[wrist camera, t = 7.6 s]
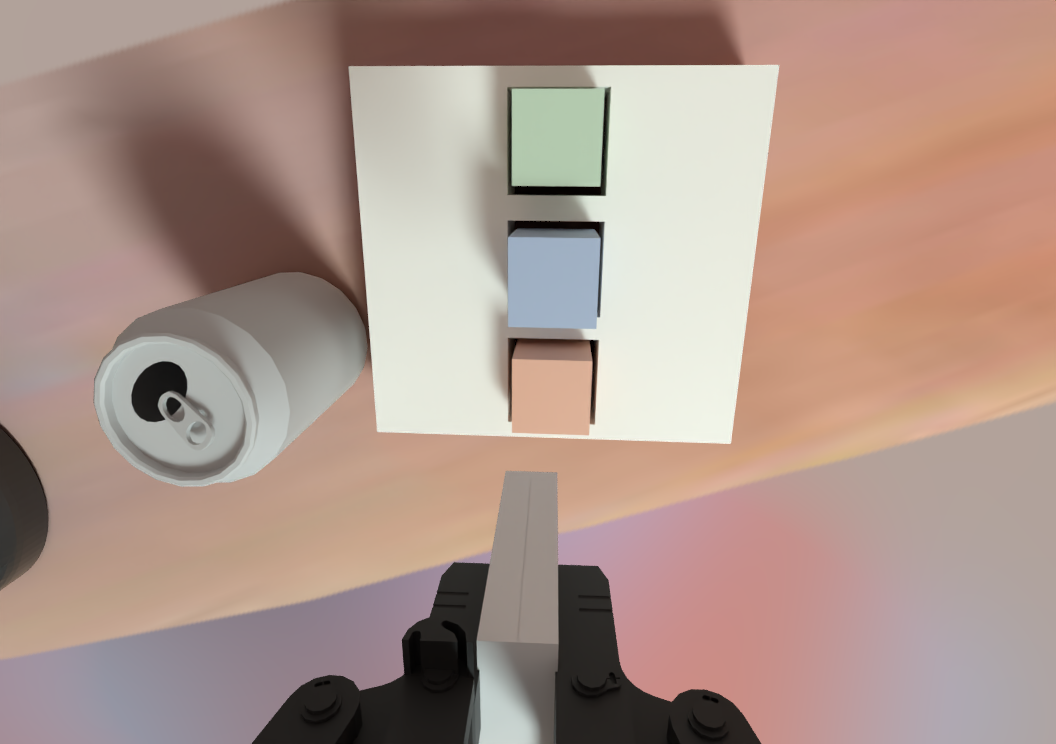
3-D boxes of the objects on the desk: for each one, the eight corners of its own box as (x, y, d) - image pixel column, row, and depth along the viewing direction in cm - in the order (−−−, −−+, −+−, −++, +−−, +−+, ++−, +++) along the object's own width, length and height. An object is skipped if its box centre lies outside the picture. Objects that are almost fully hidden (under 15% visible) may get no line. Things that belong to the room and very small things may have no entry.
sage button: (520, 185, 28) (511, 185, 24) (521, 105, 27) (511, 88, 22) (594, 186, 28) (600, 186, 23) (597, 105, 27) (604, 88, 22)
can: (292, 240, 31) (133, 272, 20) (399, 333, 32) (308, 413, 21) (218, 337, 33) (35, 418, 22) (322, 421, 34) (200, 539, 23)
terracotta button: (519, 395, 32) (511, 432, 27) (520, 332, 31) (511, 359, 26) (585, 397, 31) (589, 435, 27) (588, 333, 30) (592, 361, 26)
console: (398, 403, 34) (377, 431, 30) (377, 82, 28) (348, 66, 25) (711, 413, 33) (730, 443, 29) (749, 81, 27) (779, 64, 24)
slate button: (517, 303, 28) (508, 326, 24) (518, 228, 27) (508, 236, 22) (591, 304, 28) (596, 328, 23) (594, 229, 27) (600, 238, 22)
